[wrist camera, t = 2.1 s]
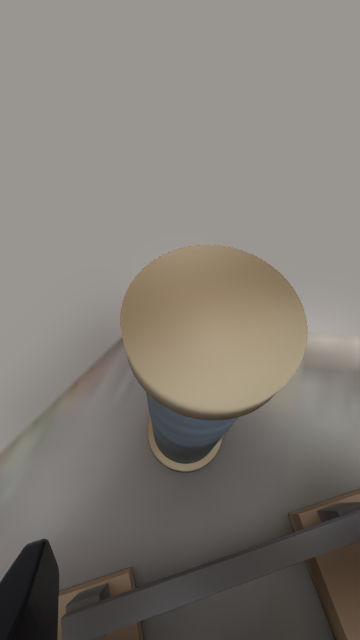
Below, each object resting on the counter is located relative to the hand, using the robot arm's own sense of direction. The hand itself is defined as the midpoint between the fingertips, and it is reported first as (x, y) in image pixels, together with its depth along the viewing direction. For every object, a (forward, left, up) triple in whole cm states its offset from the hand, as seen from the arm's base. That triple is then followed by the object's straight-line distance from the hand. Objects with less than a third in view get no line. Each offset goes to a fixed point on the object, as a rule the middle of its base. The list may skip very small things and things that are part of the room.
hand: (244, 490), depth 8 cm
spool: (+3, +2, -10) cm, 11 cm away
